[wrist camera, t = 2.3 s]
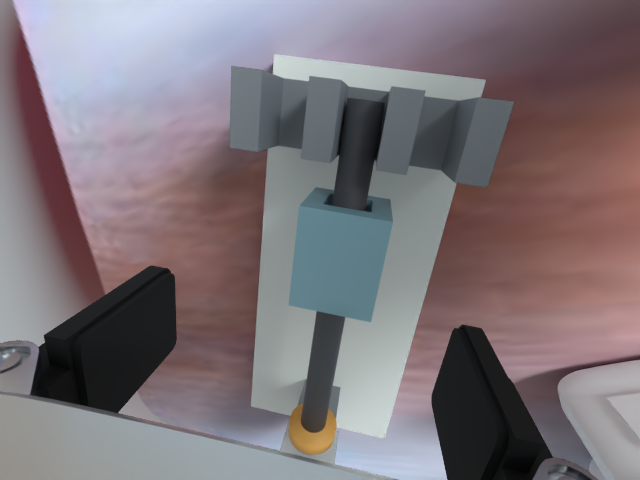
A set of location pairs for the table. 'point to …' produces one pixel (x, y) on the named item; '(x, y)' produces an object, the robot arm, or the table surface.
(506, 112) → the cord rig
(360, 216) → the sleeve
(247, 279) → the table surface
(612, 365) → the cable organizer
